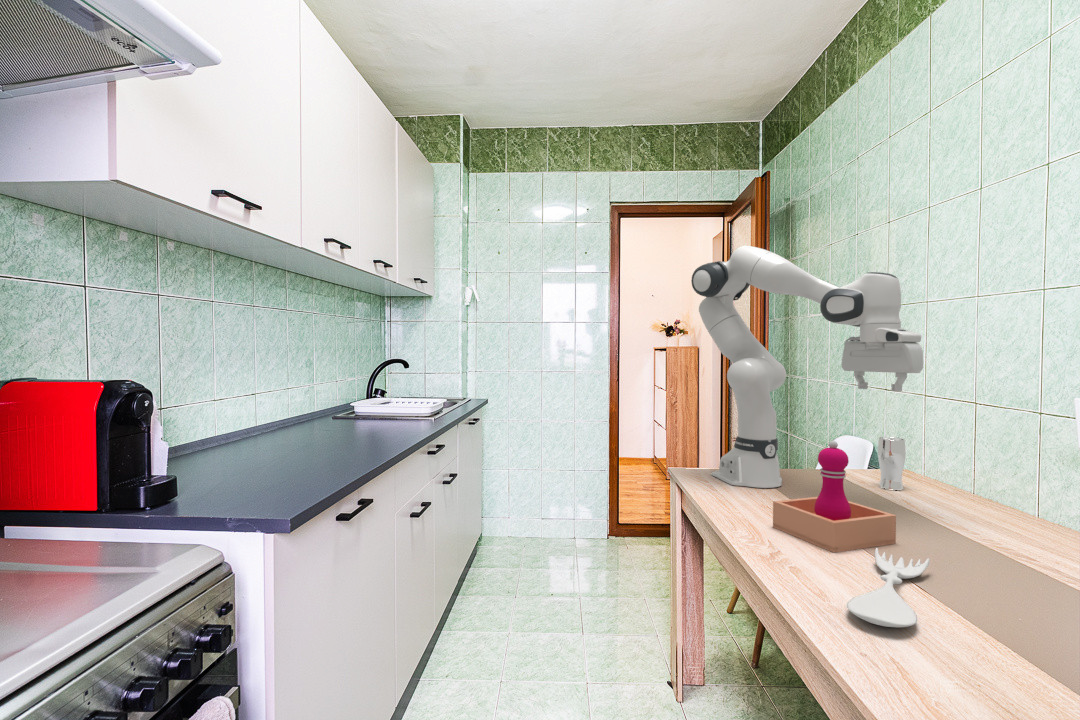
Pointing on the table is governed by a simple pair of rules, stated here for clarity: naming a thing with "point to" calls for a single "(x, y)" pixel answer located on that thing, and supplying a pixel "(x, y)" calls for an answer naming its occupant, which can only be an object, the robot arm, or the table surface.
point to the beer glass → (891, 462)
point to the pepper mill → (833, 484)
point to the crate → (835, 525)
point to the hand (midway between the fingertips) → (879, 390)
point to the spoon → (888, 595)
